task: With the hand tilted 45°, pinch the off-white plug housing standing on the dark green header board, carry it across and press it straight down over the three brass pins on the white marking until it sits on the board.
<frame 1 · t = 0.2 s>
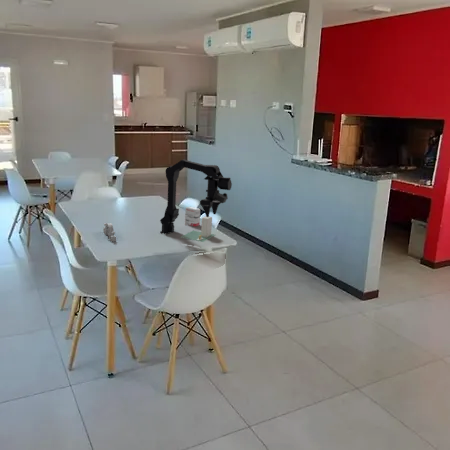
hand: (211, 215, 262), 15 cm above the table, tool pointing down, fingers open, 9 cm apart
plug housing: (206, 235, 271), point 1 cm above the table, touching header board
ink box: (192, 226, 293), on the table
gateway: (108, 237, 261), on the table
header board: (197, 237, 270), on the table
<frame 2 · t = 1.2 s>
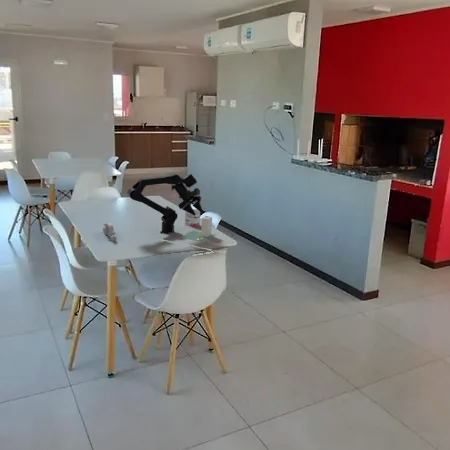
hand: (198, 213, 270), 13 cm above the table, tool tilted 45°, fingers open, 9 cm apart
nothing on the table moved.
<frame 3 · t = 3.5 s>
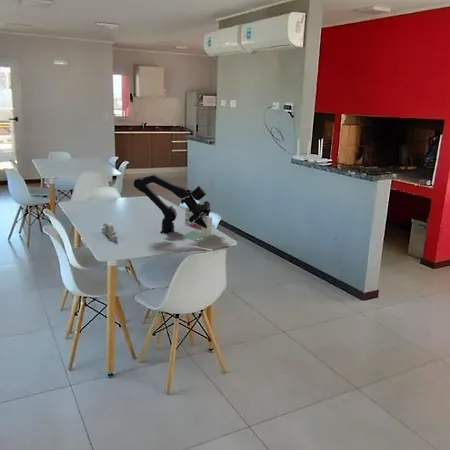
hand: (208, 226, 269), 7 cm above the table, tool tilted 45°, fingers closed on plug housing, 6 cm apart
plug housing: (206, 235, 271), point 1 cm above the table, touching gripper, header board
everything else where it was.
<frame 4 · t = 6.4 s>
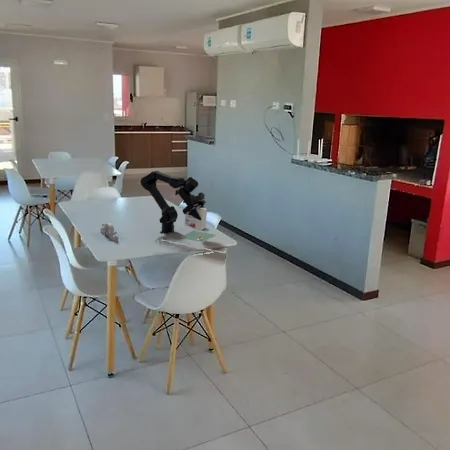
hand: (203, 218, 260), 13 cm above the table, tool tilted 45°, fingers closed on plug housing, 6 cm apart
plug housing: (200, 228, 262), point 7 cm above the table, touching gripper
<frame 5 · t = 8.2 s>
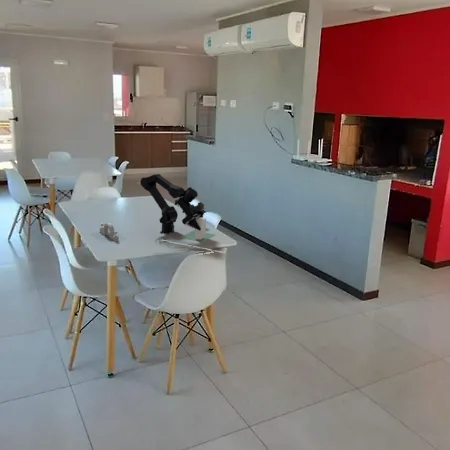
hand: (202, 228, 262), 7 cm above the table, tool tilted 45°, fingers closed on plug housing, 6 cm apart
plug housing: (199, 237, 264), point 2 cm above the table, touching gripper
when the fingers open (7 cm above the table, at t = 9.6 s): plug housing stays where it is, resting on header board.
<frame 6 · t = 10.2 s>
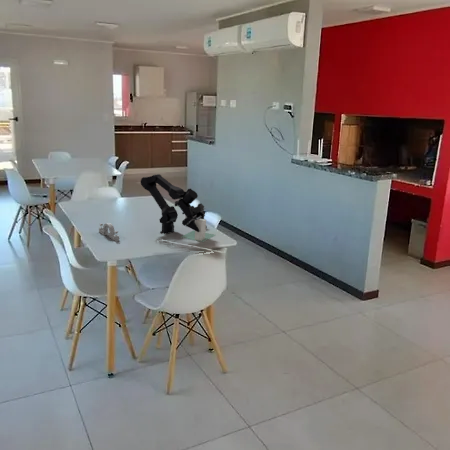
hand: (202, 229, 262), 7 cm above the table, tool tilted 45°, fingers open, 9 cm apart
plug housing: (199, 238, 264), point 1 cm above the table, touching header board
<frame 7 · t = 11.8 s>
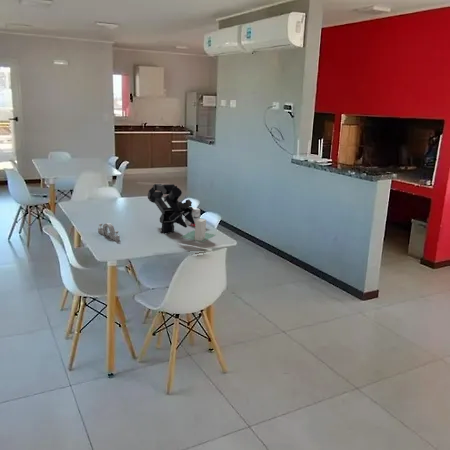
hand: (190, 225, 265), 8 cm above the table, tool tilted 45°, fingers open, 9 cm apart
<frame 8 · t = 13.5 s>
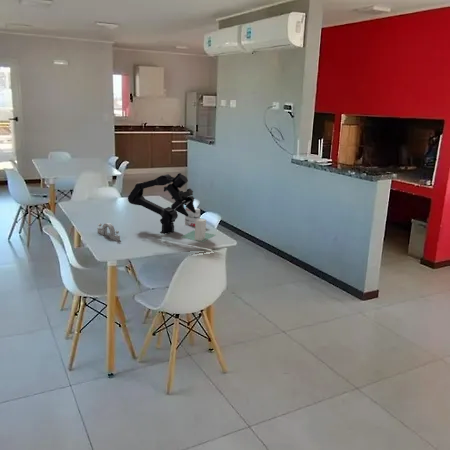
hand: (191, 214, 266), 14 cm above the table, tool tilted 45°, fingers open, 9 cm apart
at the end: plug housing 0.1 cm from the target spot on the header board, point 1.0 cm above the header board's base; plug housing tilted 0°; the gripper is holding nothing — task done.
